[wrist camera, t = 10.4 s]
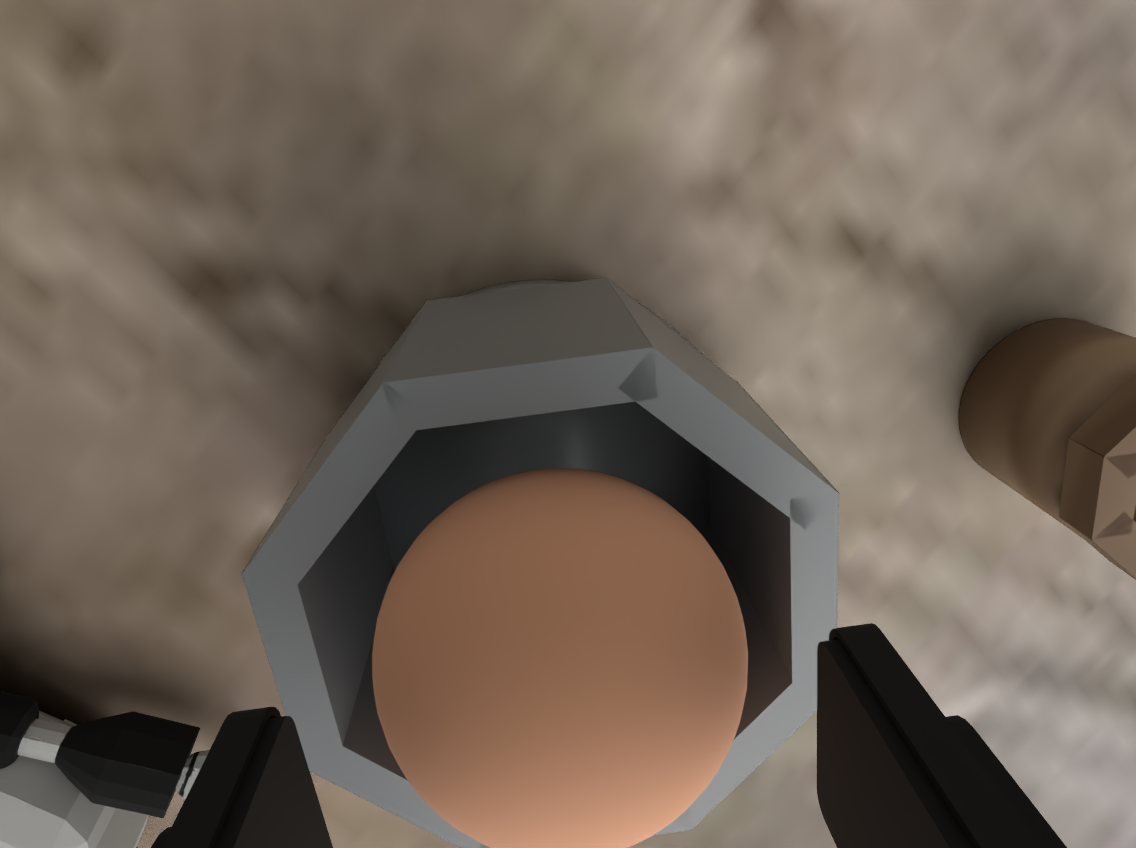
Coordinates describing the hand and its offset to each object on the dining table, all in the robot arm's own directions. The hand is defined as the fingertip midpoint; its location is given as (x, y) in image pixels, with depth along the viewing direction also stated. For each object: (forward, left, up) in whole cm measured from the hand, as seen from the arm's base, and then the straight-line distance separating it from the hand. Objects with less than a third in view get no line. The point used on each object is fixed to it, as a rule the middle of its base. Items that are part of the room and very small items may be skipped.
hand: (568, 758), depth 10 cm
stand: (0, +13, -10) cm, 16 cm away
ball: (0, 0, -2) cm, 2 cm away
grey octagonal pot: (0, 0, -10) cm, 10 cm away
